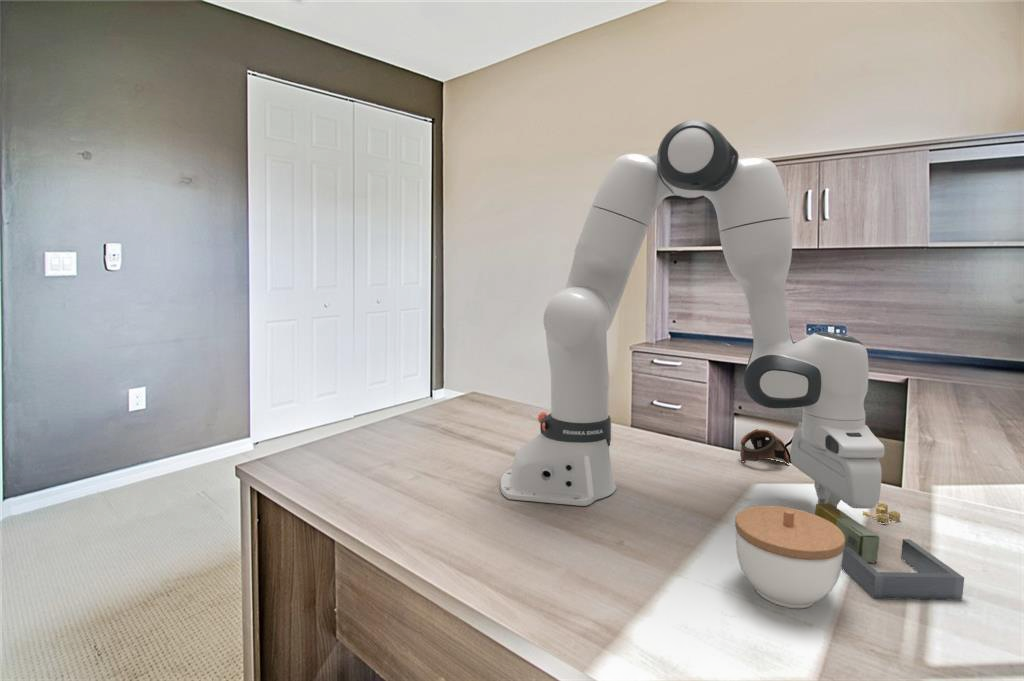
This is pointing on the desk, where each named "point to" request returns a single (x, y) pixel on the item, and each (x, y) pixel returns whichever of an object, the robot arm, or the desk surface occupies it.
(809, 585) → the lidded white bowl
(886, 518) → the dice set
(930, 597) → the bracket
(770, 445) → the brown jagged ring
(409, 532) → the desk surface
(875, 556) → the medication box
